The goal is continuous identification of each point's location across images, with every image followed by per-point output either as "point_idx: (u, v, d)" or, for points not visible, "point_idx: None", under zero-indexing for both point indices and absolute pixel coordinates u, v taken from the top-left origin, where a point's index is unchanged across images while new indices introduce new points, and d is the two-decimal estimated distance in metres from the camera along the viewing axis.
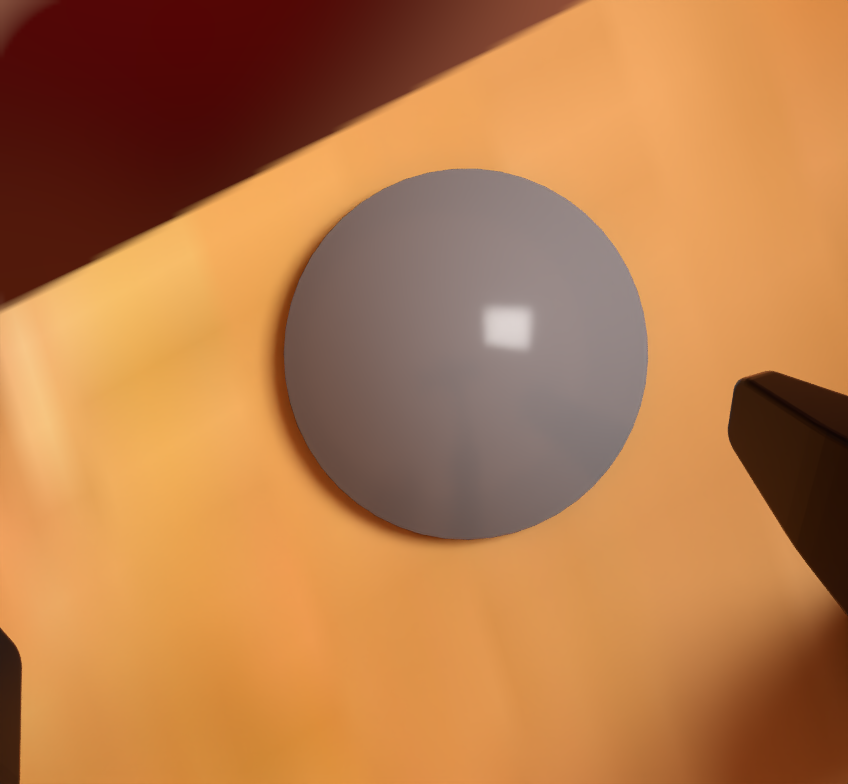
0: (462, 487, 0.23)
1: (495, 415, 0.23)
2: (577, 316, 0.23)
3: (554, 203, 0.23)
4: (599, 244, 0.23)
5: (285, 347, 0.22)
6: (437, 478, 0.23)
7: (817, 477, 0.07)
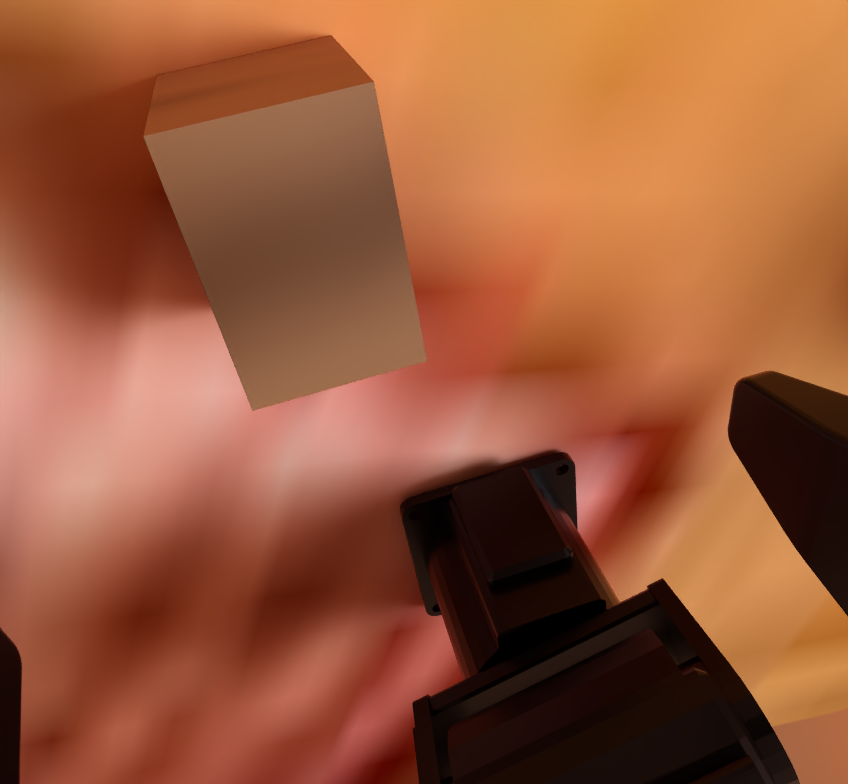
0: None
1: None
2: None
3: None
4: None
5: None
6: None
7: (817, 477, 0.07)
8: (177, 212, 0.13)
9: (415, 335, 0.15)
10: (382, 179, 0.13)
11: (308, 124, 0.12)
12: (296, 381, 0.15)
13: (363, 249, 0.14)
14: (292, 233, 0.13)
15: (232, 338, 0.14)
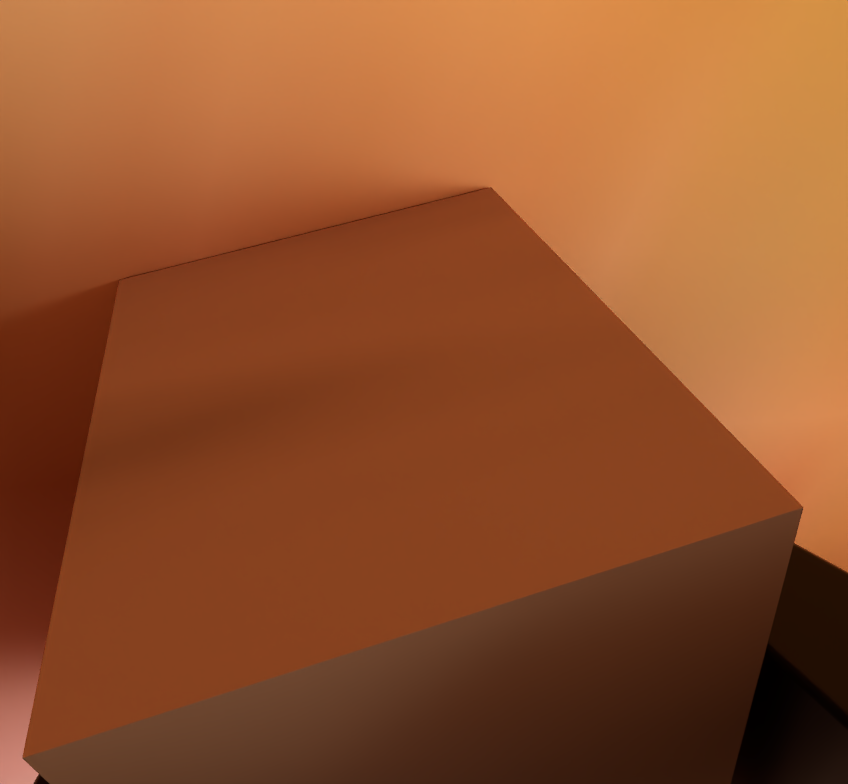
0: None
1: None
2: None
3: None
4: None
5: None
6: None
7: None
8: None
9: None
10: (732, 690, 0.05)
11: (575, 629, 0.04)
12: None
13: None
14: None
15: None
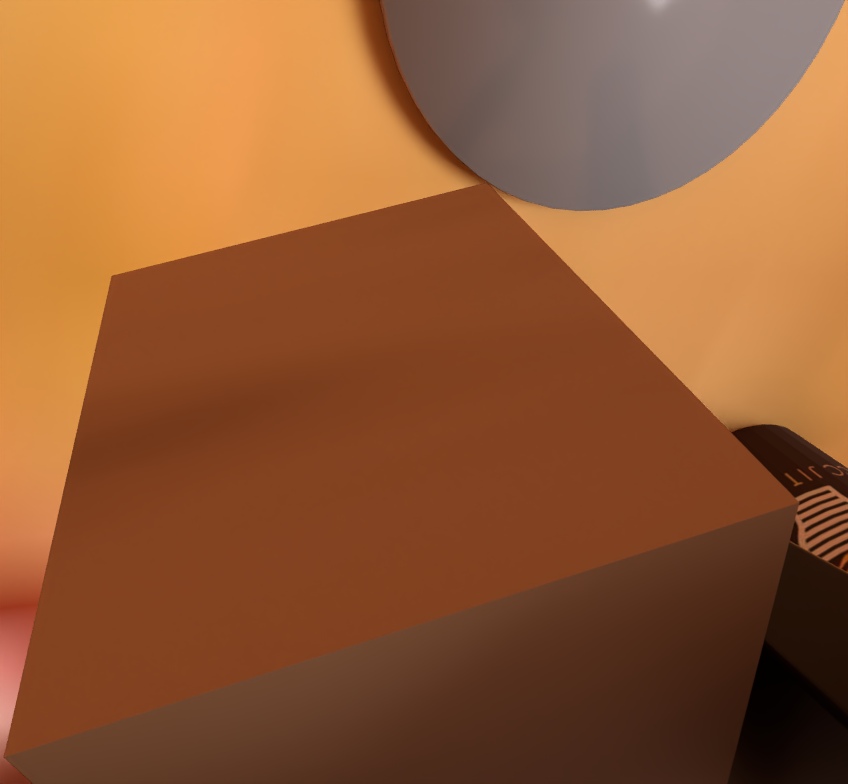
0: (516, 110, 0.17)
1: (607, 50, 0.17)
2: None
3: None
4: None
5: None
6: (499, 79, 0.17)
7: None
8: None
9: None
10: (728, 689, 0.05)
11: (568, 627, 0.04)
12: None
13: None
14: None
15: None
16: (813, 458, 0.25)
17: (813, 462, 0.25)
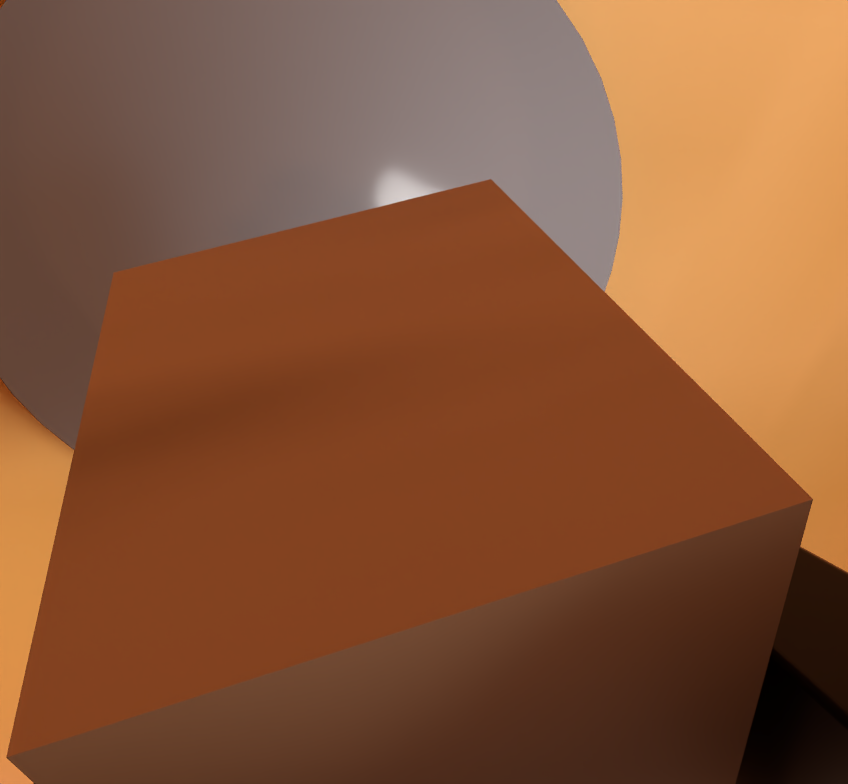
0: None
1: None
2: None
3: (593, 114, 0.13)
4: (604, 215, 0.14)
5: None
6: None
7: None
8: None
9: None
10: (738, 688, 0.05)
11: (578, 626, 0.04)
12: None
13: None
14: None
15: None
16: None
17: None
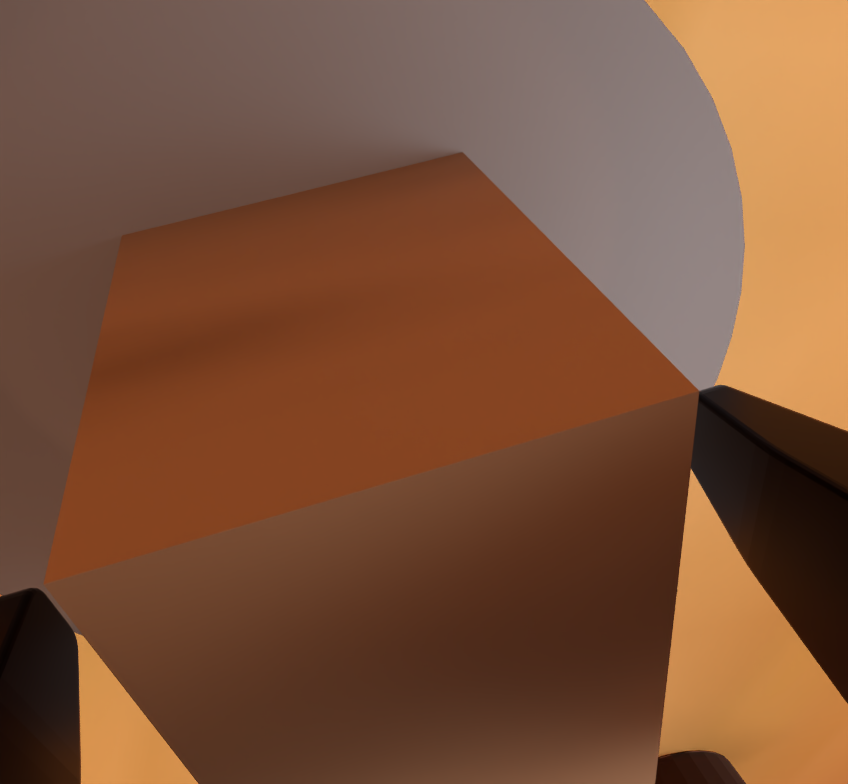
0: None
1: None
2: None
3: (716, 193, 0.10)
4: (716, 314, 0.11)
5: None
6: None
7: (764, 494, 0.07)
8: (150, 705, 0.05)
9: (643, 777, 0.08)
10: (657, 572, 0.05)
11: (510, 497, 0.04)
12: None
13: (579, 686, 0.06)
14: (431, 692, 0.06)
15: None
16: None
17: None
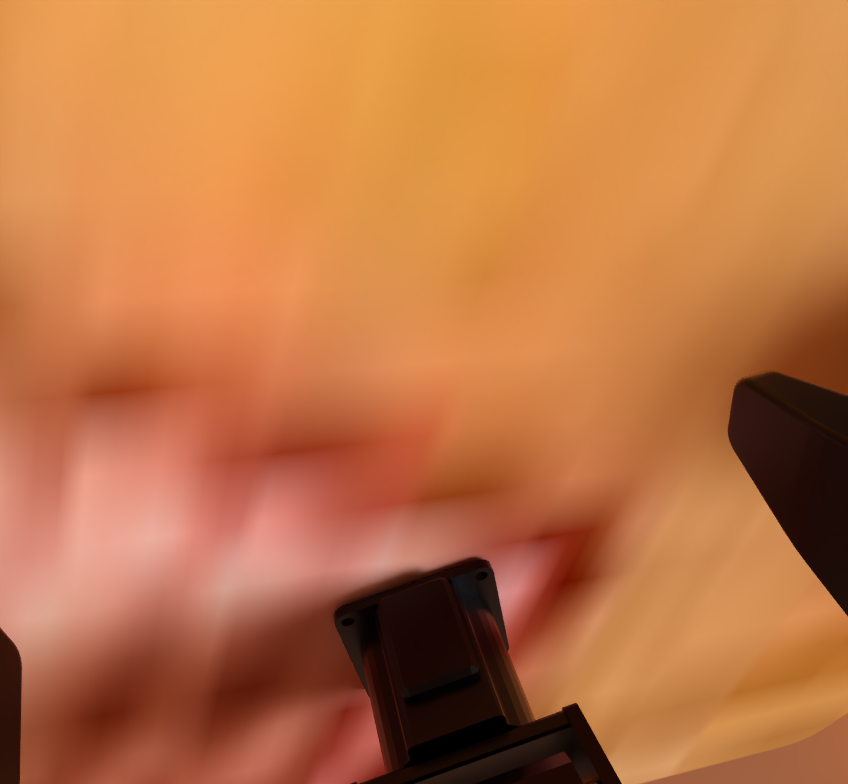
0: None
1: None
2: None
3: None
4: None
5: None
6: None
7: (817, 477, 0.07)
8: None
9: None
10: None
11: None
12: None
13: None
14: None
15: None
16: None
17: None
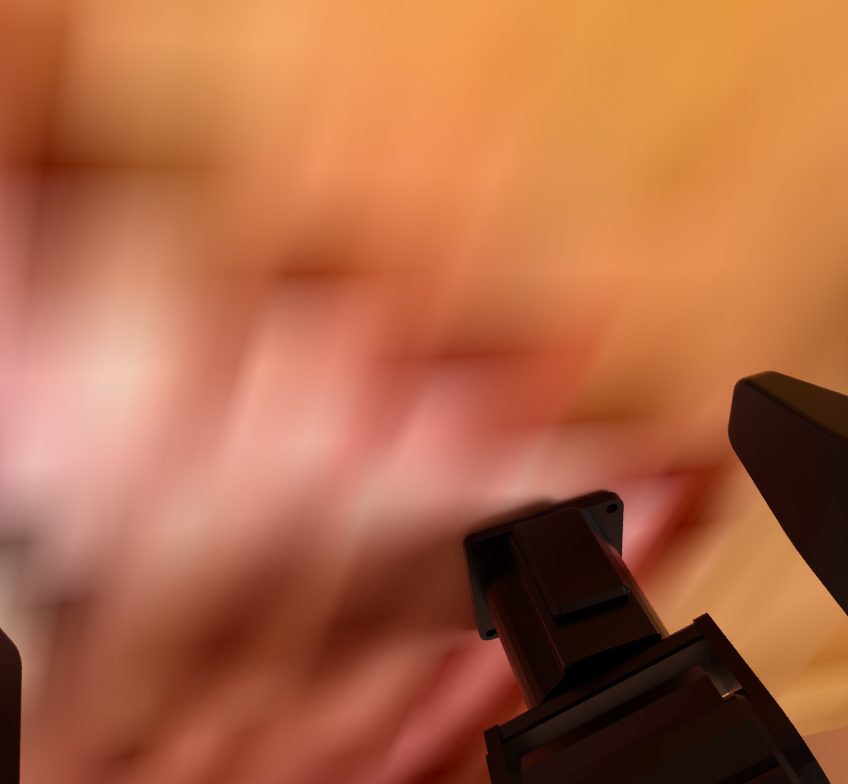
0: None
1: None
2: None
3: None
4: None
5: None
6: None
7: (818, 477, 0.07)
8: None
9: None
10: None
11: None
12: None
13: None
14: None
15: None
16: None
17: None
